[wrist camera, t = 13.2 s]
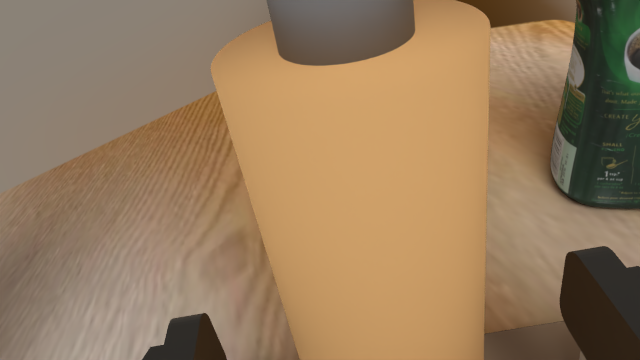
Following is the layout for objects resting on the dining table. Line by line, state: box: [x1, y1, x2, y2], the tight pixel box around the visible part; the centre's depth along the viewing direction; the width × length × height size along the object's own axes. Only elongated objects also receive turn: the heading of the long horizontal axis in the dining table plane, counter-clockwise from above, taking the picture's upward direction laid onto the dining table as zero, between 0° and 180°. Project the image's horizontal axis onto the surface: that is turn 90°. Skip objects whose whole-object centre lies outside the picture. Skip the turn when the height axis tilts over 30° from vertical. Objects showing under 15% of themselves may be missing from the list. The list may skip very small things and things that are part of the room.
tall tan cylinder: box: [211, 0, 490, 360], centre depth 13 cm, size 5×5×20 cm
